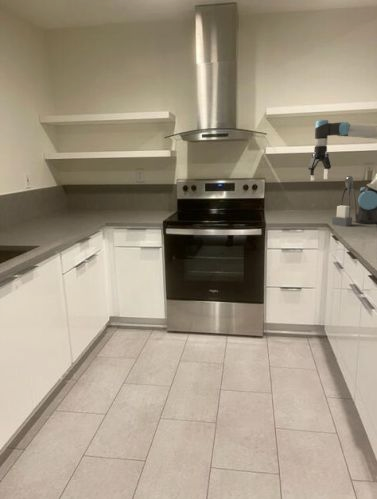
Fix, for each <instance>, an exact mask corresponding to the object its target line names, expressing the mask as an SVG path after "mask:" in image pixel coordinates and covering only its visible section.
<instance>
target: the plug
mask: <svg viewBox="0 0 377 499" xmlns="http://www.w3.org/2000/svg"><path fill="white" fill-rule="evenodd" d="M349 208H350V209H351V205H350V206H349V205H343V204H342V205H341V206H340V205H337V206H336V215H335V216H336V217H341V218H347V217H349Z"/></svg>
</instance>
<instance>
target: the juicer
mask: <svg viewBox="0 0 377 499" xmlns="http://www.w3.org/2000/svg"><path fill="white" fill-rule="evenodd" d="M344 183H345V187H343V191H342V195H341V199H340V204H339V206H341V205H342V206H343V202H344V197H345V193H346V192H347V195H348V206H350V208H349V217H351V192H352V197H353V206H354V215H355V218H356V216H357V213H358V211H357V200H356V193H355V190H354V187H353V184H354V179H353V176H352V175H347V176H346V177H345V180H344Z"/></svg>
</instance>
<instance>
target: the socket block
mask: <svg viewBox="0 0 377 499" xmlns="http://www.w3.org/2000/svg"><path fill="white" fill-rule="evenodd" d="M336 216H337V215H335V216H332V218H331V225H333V226H334V225H335V226H340V227H348V226H349V225H350V226H352V225H353V223H352V222H353V217H352V216H350V217H347V218H341V217H336Z"/></svg>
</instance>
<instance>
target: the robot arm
mask: <svg viewBox="0 0 377 499" xmlns="http://www.w3.org/2000/svg"><path fill="white" fill-rule="evenodd" d="M314 129H315V130H314V132H315V133H314V153H312V154H311V159H310V162H309V164H308V167H307V169H308V170H309V171H310V173H309V174H310V181H316V180H315V179H316V167H317V166H318V163H319V162H321V164H322V165H323V167H324V169H323V180H328V179H329V170H331V168H332V166H331V165H332V164H331V161H330V158H329V153H328V152H327V151H328V146H327V145H328V137H329V136H331V137H332V136H338V137H348V138H349V137H350V138H361V139H362V138H363V139H373V140H374V139H376V140H377V125H369V124H368V125H366V124H350V123H349V122H348V121H341V122H340V121H339V122H329V120H328V119H322V120H321V119H320V120H316V121H315V127H314ZM326 152H327V153H326ZM359 189H360V190H359V196H358V198H357V203H358V211H357V216H356V218H355V219H354V222H355V223H356V224H357V223H358V224H366V225H375V224H376V225H377V172H376V174H375V175H374V177H373V179H372V180H371V181H370V182H369V183H367V184H365V186H361V187H360V188H359Z"/></svg>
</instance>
